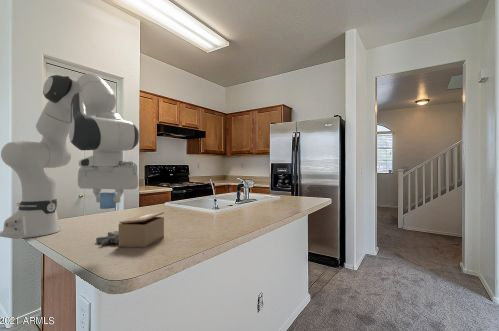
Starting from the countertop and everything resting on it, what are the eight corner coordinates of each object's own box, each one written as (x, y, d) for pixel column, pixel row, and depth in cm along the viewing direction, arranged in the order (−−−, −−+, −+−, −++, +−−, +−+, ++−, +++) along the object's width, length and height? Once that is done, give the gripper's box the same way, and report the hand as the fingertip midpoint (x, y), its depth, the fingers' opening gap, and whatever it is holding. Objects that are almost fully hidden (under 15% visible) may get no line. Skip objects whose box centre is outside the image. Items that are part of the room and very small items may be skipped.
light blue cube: (96, 208, 82) (96, 193, 82) (106, 206, 87) (106, 191, 87) (109, 209, 82) (109, 193, 82) (119, 206, 86) (119, 191, 86)
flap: (119, 223, 89) (119, 221, 89) (142, 215, 103) (142, 213, 103) (144, 221, 88) (144, 219, 88) (164, 213, 102) (163, 211, 102)
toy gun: (135, 224, 117) (160, 224, 111) (135, 231, 117) (161, 231, 111) (81, 237, 93) (111, 238, 88) (82, 246, 93) (111, 247, 88)
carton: (118, 246, 89) (118, 224, 89) (141, 235, 103) (141, 216, 103) (144, 247, 88) (144, 224, 88) (163, 236, 102) (163, 216, 102)
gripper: (142, 161, 86) (142, 201, 86) (88, 161, 89) (88, 200, 89) (131, 161, 80) (130, 204, 80) (74, 161, 83) (73, 202, 83)
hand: (108, 202), depth 84 cm, fingers closed on light blue cube, 5 cm apart
